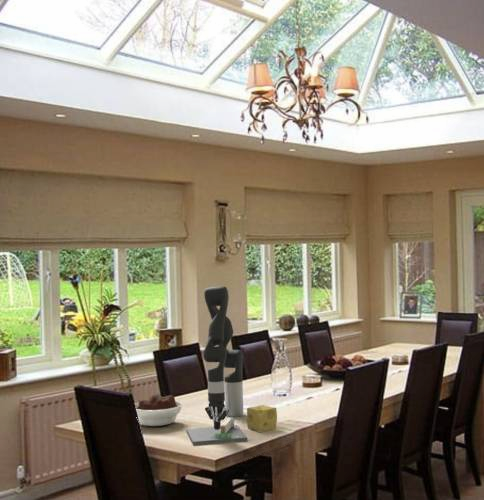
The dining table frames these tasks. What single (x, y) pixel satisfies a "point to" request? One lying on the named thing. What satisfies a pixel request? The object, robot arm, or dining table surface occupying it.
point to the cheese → (261, 418)
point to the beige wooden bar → (227, 425)
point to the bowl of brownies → (158, 410)
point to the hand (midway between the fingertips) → (217, 429)
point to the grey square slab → (215, 435)
